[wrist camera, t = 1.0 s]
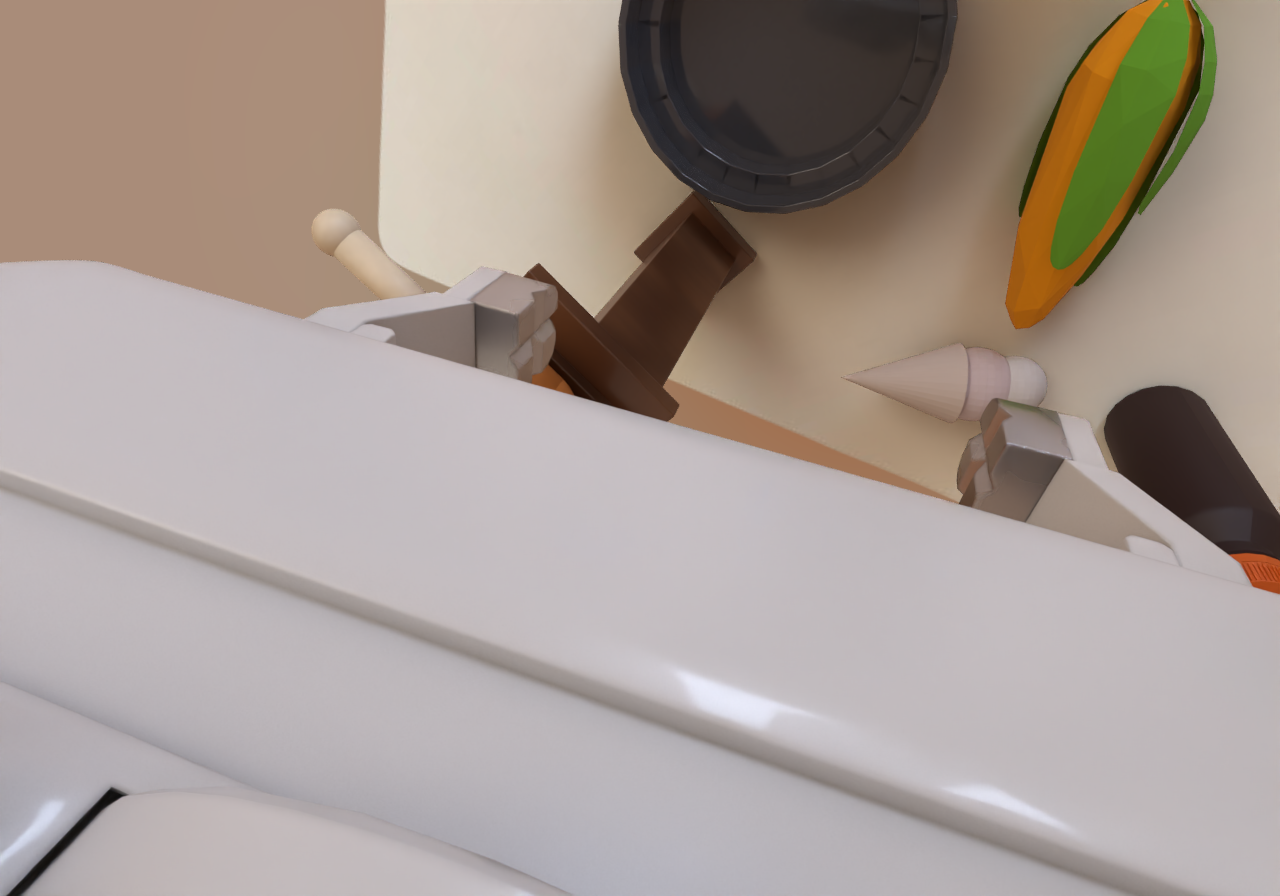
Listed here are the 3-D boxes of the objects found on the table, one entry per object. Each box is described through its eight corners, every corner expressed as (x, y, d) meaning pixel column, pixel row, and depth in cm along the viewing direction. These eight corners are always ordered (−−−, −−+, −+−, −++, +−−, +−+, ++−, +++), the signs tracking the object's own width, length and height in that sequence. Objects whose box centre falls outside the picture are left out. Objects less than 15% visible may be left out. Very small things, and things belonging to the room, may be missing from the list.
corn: (1286, 9, 34) (1088, 369, 46) (1240, 2, 40) (1075, 323, 52) (1118, -12, 36) (969, 340, 47) (1098, -15, 41) (970, 298, 53)
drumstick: (332, 234, 35) (262, 268, 31) (372, 164, 32) (301, 192, 28) (555, 444, 38) (516, 498, 34) (610, 398, 35) (574, 450, 32)
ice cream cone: (836, 347, 58) (1028, 356, 56) (832, 420, 58) (1025, 432, 56) (849, 328, 52) (1065, 338, 50) (845, 410, 52) (1062, 423, 50)
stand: (608, 221, 58) (438, 371, 37) (673, 150, 54) (521, 276, 33) (692, 310, 60) (576, 499, 40) (762, 250, 56) (672, 427, 35)
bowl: (641, -145, 44) (609, -156, 40) (986, -176, 39) (996, -194, 34) (650, 184, 56) (626, 206, 51) (919, 195, 50) (919, 220, 45)
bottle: (1160, 472, 56) (1256, 673, 40) (1082, 434, 56) (1147, 619, 41) (1233, 409, 52) (1372, 606, 36) (1148, 368, 52) (1250, 546, 36)
